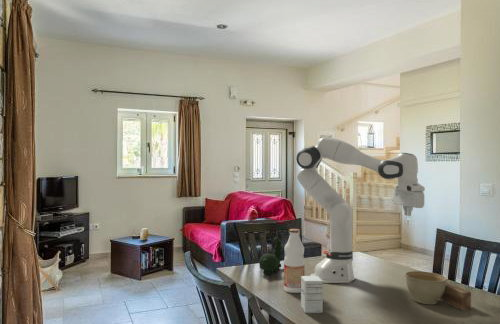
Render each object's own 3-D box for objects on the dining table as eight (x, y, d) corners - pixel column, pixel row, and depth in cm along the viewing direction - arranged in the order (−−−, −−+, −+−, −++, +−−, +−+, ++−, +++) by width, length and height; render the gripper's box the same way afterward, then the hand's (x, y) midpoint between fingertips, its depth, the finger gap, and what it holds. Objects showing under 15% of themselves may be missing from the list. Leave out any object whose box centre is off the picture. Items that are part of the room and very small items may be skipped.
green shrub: (270, 269, 228) (253, 276, 205) (271, 235, 230) (255, 239, 207) (286, 271, 224) (271, 278, 201) (287, 237, 226) (272, 240, 203)
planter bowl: (446, 310, 161) (446, 283, 161) (403, 303, 168) (403, 277, 168) (446, 298, 175) (446, 273, 175) (407, 293, 182) (407, 269, 182)
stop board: (462, 310, 161) (462, 292, 161) (424, 291, 184) (424, 276, 184) (470, 309, 162) (470, 292, 162) (431, 291, 185) (432, 276, 185)
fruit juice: (293, 294, 178) (293, 231, 178) (279, 289, 186) (280, 229, 186) (308, 291, 184) (309, 230, 184) (294, 286, 191) (295, 227, 192)
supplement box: (300, 306, 164) (300, 275, 164) (318, 306, 164) (318, 275, 164) (304, 313, 156) (304, 280, 156) (323, 312, 157) (323, 280, 157)
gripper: (389, 185, 201) (389, 213, 201) (414, 187, 181) (414, 218, 181) (401, 185, 203) (400, 212, 203) (427, 187, 183) (426, 218, 183)
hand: (407, 215), depth 192 cm, fingers closed
